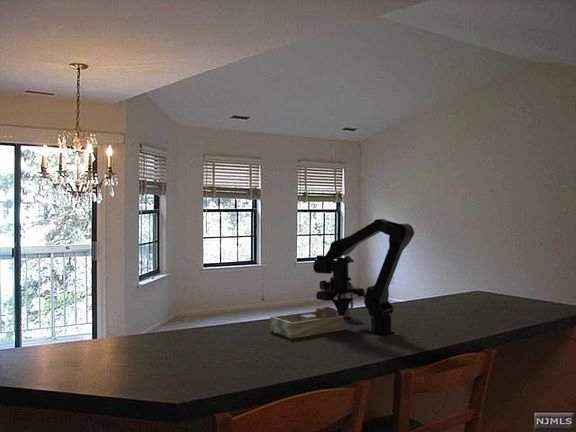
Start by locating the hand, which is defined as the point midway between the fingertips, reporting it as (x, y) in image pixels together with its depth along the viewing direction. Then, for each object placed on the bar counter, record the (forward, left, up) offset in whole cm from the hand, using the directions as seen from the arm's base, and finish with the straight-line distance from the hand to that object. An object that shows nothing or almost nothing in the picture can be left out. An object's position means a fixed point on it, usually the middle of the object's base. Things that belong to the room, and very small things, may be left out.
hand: (341, 317), depth 186 cm
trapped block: (+6, +10, -4) cm, 12 cm away
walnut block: (0, +7, -1) cm, 7 cm away
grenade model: (+13, -13, -4) cm, 19 cm away
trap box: (+3, +14, -4) cm, 14 cm away
